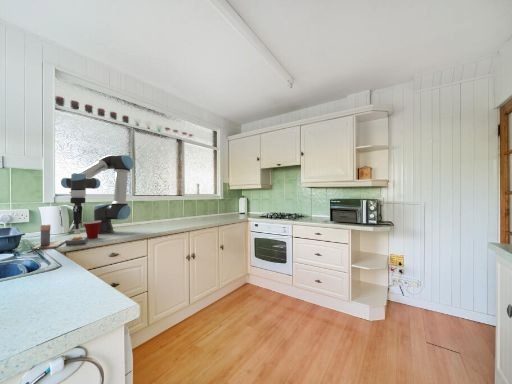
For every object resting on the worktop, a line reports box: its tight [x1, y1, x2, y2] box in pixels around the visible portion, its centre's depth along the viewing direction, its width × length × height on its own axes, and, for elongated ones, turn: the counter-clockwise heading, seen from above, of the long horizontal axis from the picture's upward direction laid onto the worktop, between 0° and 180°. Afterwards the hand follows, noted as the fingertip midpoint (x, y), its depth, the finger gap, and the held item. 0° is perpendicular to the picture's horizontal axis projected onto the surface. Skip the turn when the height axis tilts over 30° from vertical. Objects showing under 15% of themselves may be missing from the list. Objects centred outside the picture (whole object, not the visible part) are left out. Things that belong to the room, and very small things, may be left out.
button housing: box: [65, 236, 89, 246], centre depth 141 cm, size 9×9×3 cm
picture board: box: [30, 239, 68, 251], centre depth 135 cm, size 11×20×1 cm, turn 28°
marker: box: [40, 224, 52, 246], centre depth 130 cm, size 4×4×12 cm
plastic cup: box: [82, 220, 101, 240], centre depth 158 cm, size 11×11×12 cm
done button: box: [72, 235, 83, 240], centre depth 141 cm, size 4×4×2 cm
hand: (77, 233), depth 141 cm, fingers closed
